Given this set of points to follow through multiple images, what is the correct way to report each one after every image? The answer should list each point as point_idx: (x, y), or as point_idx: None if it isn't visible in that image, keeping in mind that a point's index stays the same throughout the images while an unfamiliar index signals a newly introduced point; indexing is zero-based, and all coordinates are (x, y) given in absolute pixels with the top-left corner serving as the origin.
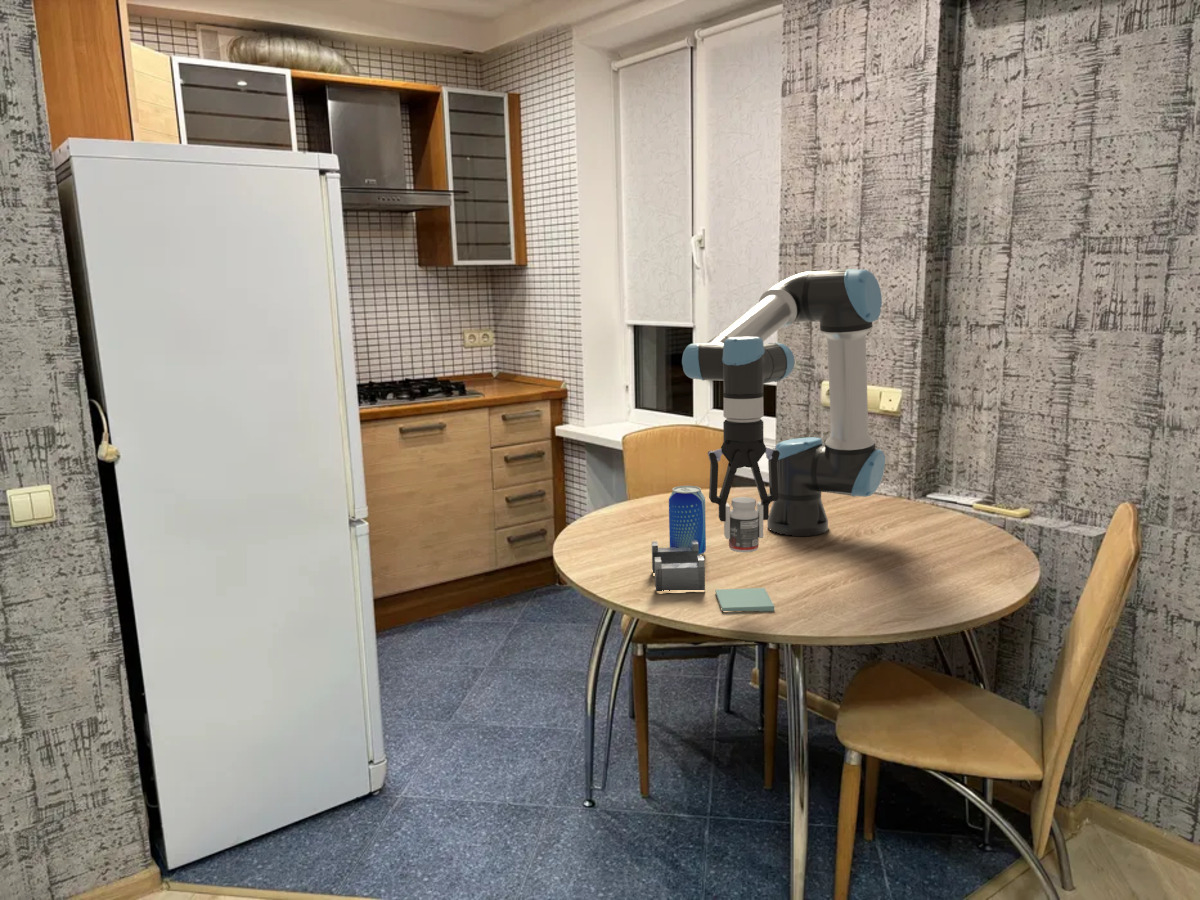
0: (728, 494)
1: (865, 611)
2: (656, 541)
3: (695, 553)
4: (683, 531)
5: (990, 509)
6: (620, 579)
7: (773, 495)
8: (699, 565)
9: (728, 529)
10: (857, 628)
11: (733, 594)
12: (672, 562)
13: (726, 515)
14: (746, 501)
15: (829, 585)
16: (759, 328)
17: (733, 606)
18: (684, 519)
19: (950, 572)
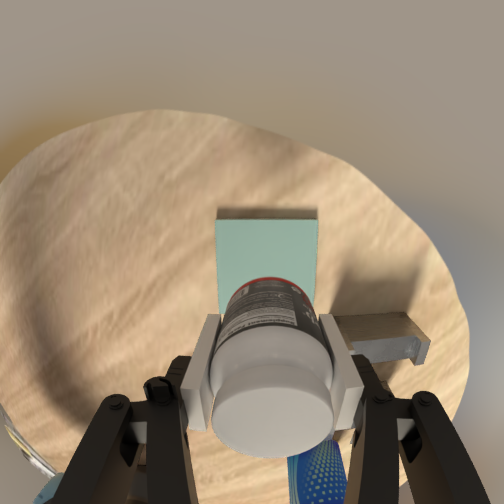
0: (366, 433)
1: (78, 210)
2: None
3: None
4: (330, 465)
5: (19, 443)
6: (428, 367)
7: (119, 414)
8: (350, 344)
9: (331, 330)
10: (101, 139)
11: None
12: None
13: (351, 361)
14: (266, 403)
15: (114, 324)
16: None
17: (295, 224)
18: (331, 481)
19: (6, 331)
